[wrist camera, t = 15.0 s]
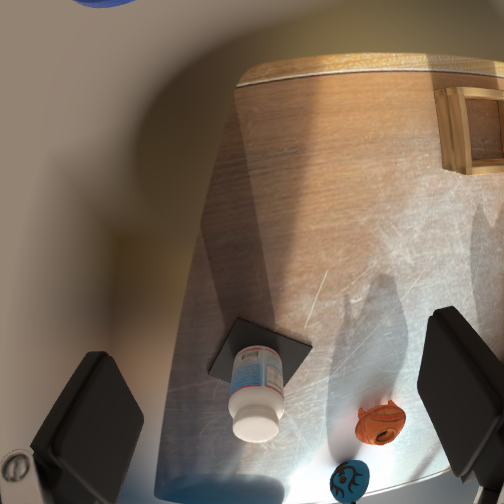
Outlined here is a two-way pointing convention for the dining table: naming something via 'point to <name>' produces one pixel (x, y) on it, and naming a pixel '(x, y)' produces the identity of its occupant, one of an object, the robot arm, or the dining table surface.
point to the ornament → (349, 481)
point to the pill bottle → (256, 394)
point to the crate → (464, 129)
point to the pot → (380, 424)
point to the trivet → (255, 335)
